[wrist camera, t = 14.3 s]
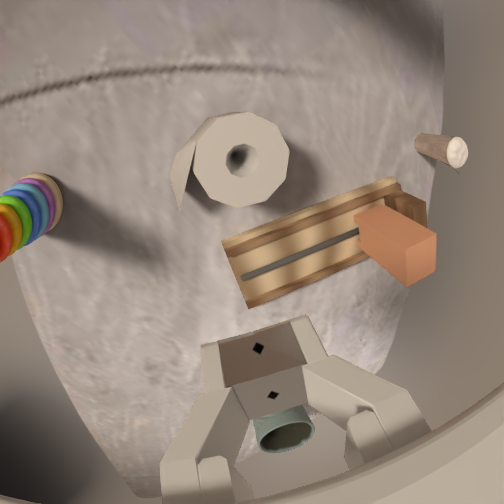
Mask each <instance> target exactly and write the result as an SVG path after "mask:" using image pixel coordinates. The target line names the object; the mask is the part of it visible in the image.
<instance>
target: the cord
mask: <svg viewBox="0 0 504 504" xmlns="http://www.w3.org/2000/svg"><path fill="white" fill-rule="evenodd" d="M357 234H359V227H358V228H355V229H353V230H350V231H348V232H346V233H343V234H341V235H339V236H336V237H334V238H331V239H329V240H327V241H324V242H322V243H319V244H317V245H314V246H312V247H310V248H307V249H305V250H302V251H300V252H298V253H295V254H293V255H290V256H288V257H285V258H283V259H280V260H278V261H275V262H273V263H271V264H268V265H266V266H263V267H261V268H258V269H256V270H253V271H251V272H248V273H246V274H243V275H242V276H241V280H242V281H246V280H249V279H251V278H254V277H256V276H259V275H261V274H264V273H266V272H269V271H271V270H273V269H276V268H278V267H281V266H283V265H286V264H288V263H290V262H293V261H295V260H298V259H300V258H303V257H305V256H307V255H310V254H312V253H315V252H317V251H319V250H322V249H324V248H326V247H329V246H331V245H334V244H336V243H338V242H341V241H343V240H345V239H348V238H350V237H352V236H355V235H357Z"/></svg>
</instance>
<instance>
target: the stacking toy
mask: <svg viewBox="0 0 504 504" xmlns="http://www.w3.org/2000/svg"><path fill="white" fill-rule="evenodd" d="M62 209H63V200H62V195H61V192H60V189H59V187H58V186H57V184H56V183H55V182H54V181H53V179H51V178H50V177H49V176H47V175H45V174H41V173H31V174H28V175H25V176H24V177H22V178H21V179H20V180H19V181H17V182H16V183H14V184H13V185H12V186H11V187H10V188H9V189H8V190H7V191H6V192H5V193H3V194H2V195H1V196H0V262H2V261H3V260H5V259H6V258H7V256H10V255H12V254H13V253H14V252H15V251H16V250H18V249H20V248H22V247H23V246H26V245H28V244H30V243H31V242H33V241H34V240H36V239H38V238H39V237H40V236H42V235H44V234H45V233H46V232H48V231H50V230H51V229H53V228H54V227H55V226H56V224H57V223H58V221H59V219H60V217H61V214H62Z"/></svg>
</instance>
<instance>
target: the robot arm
mask: <svg viewBox="0 0 504 504" xmlns="http://www.w3.org/2000/svg"><path fill="white" fill-rule="evenodd" d="M200 356H201V365H202V374H203V383H204V391H205V393H203V394H199V396H198V398H197V400H196V401H195V403H194V405H193V407H192V408H191V410H190V412H189V414H188V415H187V417H186V419H185V421H184V422H183V424H182V426H181V428H180V429H179V431H178V433H177V435H176V436H175V438H174V440H173V442H172V443H171V445H170V447H169V448H168V450H167V452H166V454H165V455H164V457H163V459H162V460H161V462H160V476H161V491H162V504H504V383H502V384H501V385H500V386H498V387H497V388H496V389H494V390H493V391H492V392H490V393H489V394H488V395H487V396H485V397H484V398H482V399H481V400H479V401H478V402H477V403H475V404H474V405H473V406H471V407H469V408H468V409H466V410H465V411H463V412H462V413H460V414H459V415H457V416H456V417H454V418H453V419H451V420H449V421H448V422H446V423H444V424H443V425H441V426H440V427H438V428H436V429H434V430H433V431H431V429H430V427H429V426H428V424H427V422H426V420H425V419H424V417H423V415H422V414H421V412H420V411H419V409H418V407H417V406H416V404H415V402H414V401H413V399H412V398H411V396H410V395H409V393H408V391H407V390H405V389H403V388H401V387H399V386H396V385H394V384H392V383H390V382H388V381H386V380H384V379H382V378H380V377H378V376H376V375H374V374H372V373H370V372H367V371H365V370H363V369H361V368H359V367H357V366H355V365H353V364H351V363H349V362H347V361H345V360H343V359H341V358H339V357H337V356H335V355H331V356H328V355H327V353H326V351H325V349H324V347H323V345H322V343H321V341H320V339H319V337H318V335H317V333H316V331H315V329H314V327H313V325H312V323H311V321H310V319H309V317H308V316H307V315H306V314H305V315H302V316H299V317H296V318H293V319H290V320H288V321H284V322H281V323H278V324H275V325H272V326H269V327H265V328H262V329H259V330H256V331H253V332H250V333H246V334H242V335H239V336H235V337H231V338H227V339H223V340H219V341H216V342H212V343H208V344H204V345H201V347H200ZM305 403H308V404H309V405H310V406H312V407H313V408H315V409H316V410H317V411H319V412H320V413H321V414H323V415H324V416H326V417H327V418H328V419H330V420H331V421H333V422H334V423H336V424H337V425H339V426H340V427H342V428H343V429H344V430H346V431H347V433H346V443H345V454H344V457H345V460H346V462H347V465H348V468H349V471H346V472H344V473H341V474H339V475H336V476H333V477H330V478H327V479H324V480H322V481H318V482H315V483H312V484H309V485H306V486H302V487H299V488H296V489H292V490H289V491H285V492H281V493H277V494H273V495H269V496H265V497H260V498H256V499H254V496H253V491H252V487H251V485H250V484H249V482H247V480H246V479H245V478H244V477H243V476H242V475H241V474H240V473H239V472H238V471H237V470H236V469H235V468H234V464H235V461H236V458H237V456H238V453H239V450H240V448H241V445H242V442H243V440H244V437H245V434H246V431H247V428H248V426H249V423H250V421H249V420H252V419H255V418H259V417H262V416H265V415H268V414H272V413H275V412H278V411H281V410H285V409H289V408H292V407H295V406H299V405H302V404H305ZM0 504H37V503H32V502H27V501H22V500H18V499H14V498H9V497H5V496H2V495H0Z"/></svg>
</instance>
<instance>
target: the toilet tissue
mask: <svg viewBox="0 0 504 504" xmlns="http://www.w3.org/2000/svg"><path fill="white" fill-rule="evenodd" d="M289 151H290V150H289V148H288V146H287V145H286V143H285V141H284V139H283V137H282V135H281V133H280V131H279V129H278V127H277V126H276V124H274V123H271V122H269V121H267V120H265V119H263V118H261V117H259V116H257V115H254V114H252V113H250V112H231V113H227V114H222V115H218V116H213V117H209V118H207V119H206V121H205V122H204V123H203V124H202V125H201V126H200V127H199V128H198V130H197V131H196V132H195V133H194V134H193V135H192V136H191V138H190V139H189V140H188V141H187V142H186V143H185V145H184V146H183V147H182V148H181V149H180V150H179V152H178V153H177V154H176V156H175V159H174V162H173V166H172V169H171V172H170V175H169V177H170V180H171V184H172V187H173V191H174V194H175V198H176V201H177V204H178V208H179V211H180V209H181V204H182V200H183V195H184V191H185V187H186V183H187V178H188V174H189V170H190V166H192V169H193V172H194V174H195V176H196V177H197V179H198V180H199V182H200V183H201V185H202V187H203V188H204V190H205V191H206V193H207V194H208V196H209V197H210V198H211V199H213V200H216V201H219V202H222V203H224V204H227V205H230V206H233V207H235V208H241V207H245V206H248V205H252V204H256V203H260V202H264V201H266V200H267V199H268V198H269V197H270V196H271V195H272V194H273V192H274V191H275V190H276V189H277V188H278V187H279V186H280V185H281V184H282V183H283V181H284V180H285V179H286V172H287V165H288V158H289Z"/></svg>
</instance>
